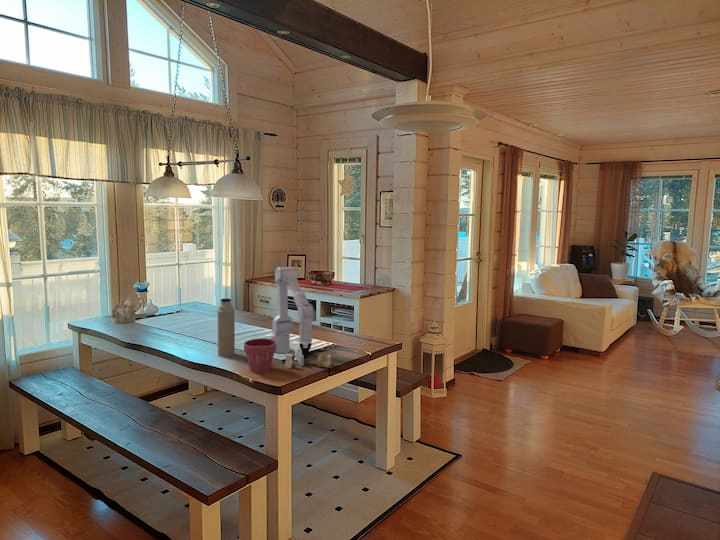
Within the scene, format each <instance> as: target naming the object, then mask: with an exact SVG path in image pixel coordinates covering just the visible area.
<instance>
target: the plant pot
mask: <svg viewBox="0 0 720 540" xmlns="http://www.w3.org/2000/svg"><path fill="white" fill-rule="evenodd" d="M243 351H244V352H245V353H246V357H247V362H248V367H249V371H250V373H255V374H256V373H257V374H262V373H267V372H269V371H270V370H271V369H272V364H273V360H274V355H275V353H276V352H275V351H276V341H274V340H272V339H270V338H253V339H248V340H246V341H245V342H244V343H243Z"/></svg>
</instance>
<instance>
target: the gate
mask: <svg viewBox="0 0 720 540" xmlns="http://www.w3.org/2000/svg"><path fill="white" fill-rule="evenodd" d="M296 361H297V362H298V364H299V365H300V366H301V367H302V366H305V364H304V363H305V359H304V356H303V354H302V351H301V350H300V351H297V360H296Z"/></svg>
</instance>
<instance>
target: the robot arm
mask: <svg viewBox="0 0 720 540" xmlns="http://www.w3.org/2000/svg"><path fill="white" fill-rule="evenodd" d="M298 276H299V271H298V268H297V267H296V266H295V265H294V266H284V267H283V266H281V267H280V266H278V267H277V268H276V269H275V270H274V283H276V285H277V286H276V288H277V289H276V290H277V294H276V295H277V299H276V300H277V301H276V302H277V315H276V316H275V317H274V318H273V319H272V324H271V332H272V333H271V335H270V338H269V339H272V340H274V341H276V351H275V352H274V353H280V354H289V352H290V351H292V350H293V348H291V347H290V337H291V336H290V335H291V334H292V332H293V331H294V323H293V318H292V317H291V316H289V313H288V311H289V308H288V305H289V303H288V302H289V301H288V298H289V297H288V285H289V287H290V289H291V291H292V293H293V294H294V295H293V301H294V302H295V306H296V308H297V311H296V312H297V313H296V314H297V318H298V322H299V338H298V339H296V342H298V343H299V349H300V352H301V353H302V354H303V356H304V360H307V359H308V358H309V354H310V350H311V348H312V342H313V338H312V337H313V336H312V335H313V334H312V333H313V331H312V328H313V327H312V326H313V317H315V308H314V306H313V304H311V303H309V301H308V298H307V296H306V293H304V292H303V291H302V290H301V287H300V283H299V281H298Z"/></svg>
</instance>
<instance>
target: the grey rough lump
mask: <svg viewBox="0 0 720 540" xmlns="http://www.w3.org/2000/svg"><path fill="white" fill-rule="evenodd" d="M134 306H135V304H134V303H133V300H132V297H131V296H129V297H128V298H127V299H126V300H124V298H122V299H120V301H119V303H117V304H116V305H115V307H113V309H112V310H111V312H112V313H111V315H112V316H111V318H110V320H111V322H112V323H113V324H126V323H132V322H134V321H136V320H137V319H136V316H135V311H134Z"/></svg>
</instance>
